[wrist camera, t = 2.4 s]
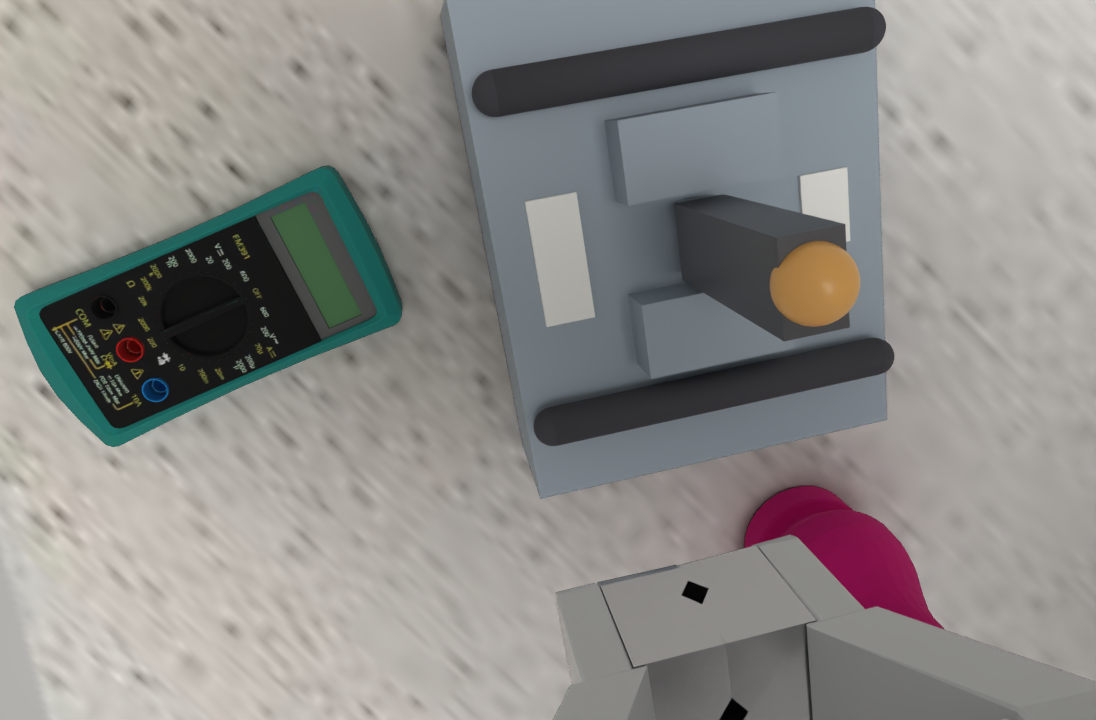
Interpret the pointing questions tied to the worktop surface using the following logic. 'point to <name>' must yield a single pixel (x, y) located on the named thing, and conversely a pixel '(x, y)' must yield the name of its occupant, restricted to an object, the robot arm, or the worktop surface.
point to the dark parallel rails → (670, 68)
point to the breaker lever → (768, 264)
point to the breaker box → (659, 222)
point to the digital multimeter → (211, 308)
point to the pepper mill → (845, 548)
